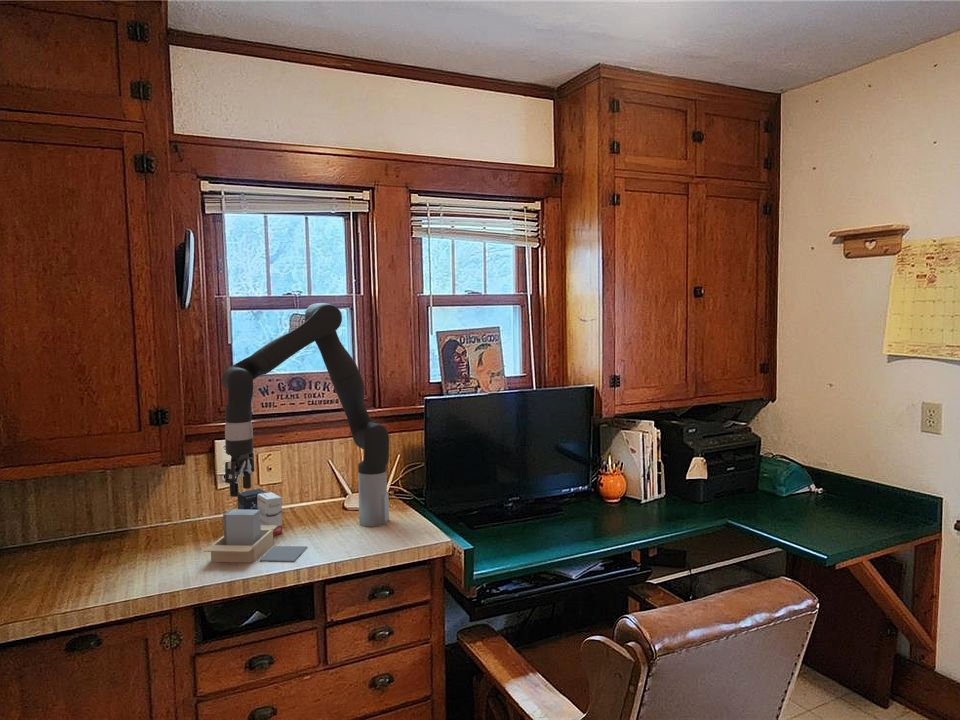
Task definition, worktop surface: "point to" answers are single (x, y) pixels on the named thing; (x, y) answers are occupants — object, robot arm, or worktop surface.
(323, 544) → the worktop surface
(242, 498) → the box
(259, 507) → the ink box
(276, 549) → the mat
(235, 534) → the box
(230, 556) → the beige shallow rectangular tray
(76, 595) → the worktop surface
